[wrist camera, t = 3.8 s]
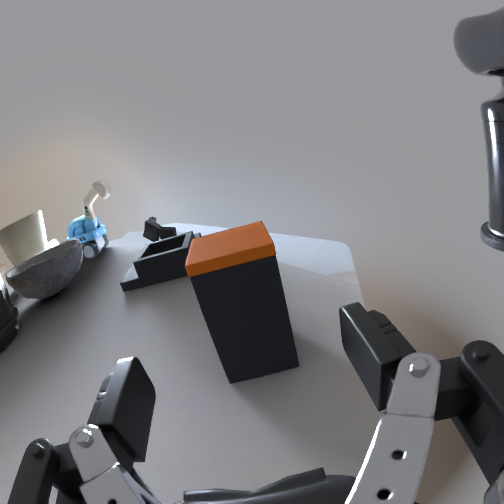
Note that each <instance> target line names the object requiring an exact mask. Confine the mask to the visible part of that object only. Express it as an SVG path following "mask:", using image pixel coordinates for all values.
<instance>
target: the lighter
mask: <svg viewBox="0 0 504 504" xmlns="http://www.w3.org/2000/svg"><path fill="white" fill-rule="evenodd" d="M176 235H177V234H176V228H175V227H162V226H160V225H159V224H157V223H156V218H154V217H151V218H149V220H147V221H145V230H144V234H143V237H145V238H147V239H149V240H151V241H153V242H155V241H158V240H159V237H160V239H161V240H162V239H165V238H169V237H172V236H176Z"/></svg>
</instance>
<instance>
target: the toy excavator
mask: <svg viewBox="0 0 504 504" xmlns="http://www.w3.org/2000/svg"><path fill="white" fill-rule="evenodd" d="M92 186H93V188H92V189H91V191H90V192H89V193H88V194H87V195H86V197H85V198H84V199H83V211H84V215H83V216H81V217H79V218H77V219H75V220H73V221H72V222H71V223H70V225H69V227H68V238H67V240H71V239H78V240H79V242H80V243H81V246H82V250H83V256H85V257H86V258H87V259H88V258H89V257H90V258H91V259H93V258H94V257H95V256H96V255H97V254H98V252H99V250H101V249H104V248H106V247H107V245H108V239H107V236H106V235H105V234H104V233H106V229H105V226H104V225H101V223H100V220H99V218H98V217H96V216H95V214H94V211H93V208H92V204H93V202H94V201H95V199H96V198H97V197H98V195H99V194H100V196H101V197H102V199H103V200H105V199H107V198H108V197H110V195H111V188H110V186H109V184H108V183H107V182H106V181H103V180H100V181H97V182H94V183H93V184H92Z"/></svg>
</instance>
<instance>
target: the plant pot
mask: <svg viewBox="0 0 504 504" xmlns="http://www.w3.org/2000/svg"><path fill="white" fill-rule="evenodd" d="M0 244H1V247H2V248H3V250H4V252H5V253H6V255H7V257H8V258H9V259H10V261H11V262H12V264H13V265H14V266H15V267H16V266H17V265H19V264H21V263H22V262H24V261H26V260H28V259H30V258H32V257H33V256H35V255H37V254H40V253H41V252H43V251H45V250H48V245H47V238H46V232H45V227H44V221H43V216H42V212H41V210H40V211H37V212H35V213H33V214H31V215H28V216H26V217H24V218H22V219H20V220H18V221H16V222H14V223H12V224H10V225H8V226H6V227H4V228H3V229H1V230H0Z"/></svg>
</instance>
